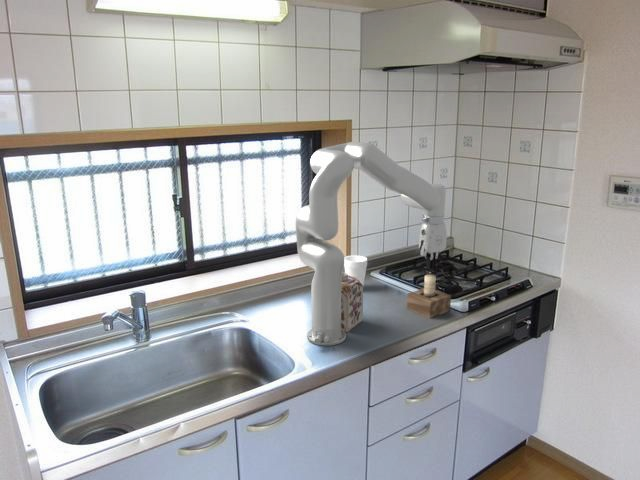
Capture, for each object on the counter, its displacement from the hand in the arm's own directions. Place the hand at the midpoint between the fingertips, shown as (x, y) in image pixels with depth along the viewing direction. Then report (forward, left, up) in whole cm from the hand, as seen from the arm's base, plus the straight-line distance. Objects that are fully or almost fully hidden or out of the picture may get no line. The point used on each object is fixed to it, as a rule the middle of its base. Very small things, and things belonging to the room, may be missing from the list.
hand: (430, 269), depth 186 cm
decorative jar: (-17, +30, -16) cm, 38 cm away
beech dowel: (0, 0, -15) cm, 15 cm away
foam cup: (+17, +29, -16) cm, 37 cm away
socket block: (0, 0, -16) cm, 16 cm away
